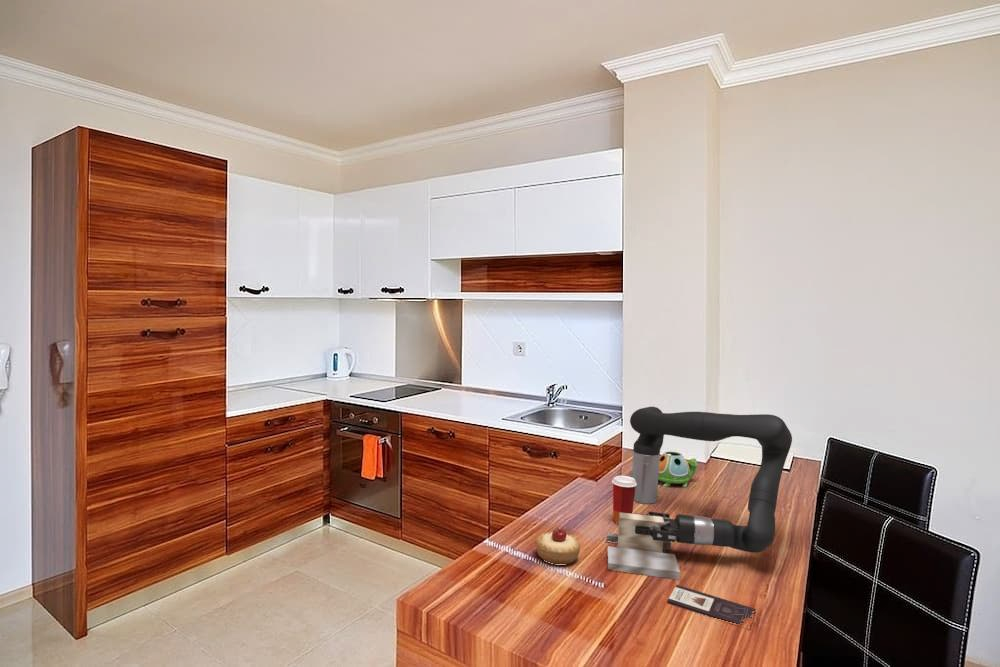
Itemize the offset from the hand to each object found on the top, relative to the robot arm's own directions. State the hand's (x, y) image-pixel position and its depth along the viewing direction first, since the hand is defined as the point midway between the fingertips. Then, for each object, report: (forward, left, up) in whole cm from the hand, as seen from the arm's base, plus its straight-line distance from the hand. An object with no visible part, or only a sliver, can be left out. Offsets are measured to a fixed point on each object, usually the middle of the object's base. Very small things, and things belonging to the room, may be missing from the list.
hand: (634, 523), depth 155 cm
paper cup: (-15, +14, -8) cm, 22 cm away
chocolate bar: (+28, -8, -9) cm, 31 cm away
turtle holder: (-27, +63, -8) cm, 69 cm away
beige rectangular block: (+1, +1, -8) cm, 8 cm away
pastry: (-10, -20, -8) cm, 24 cm away
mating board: (+4, -2, -8) cm, 9 cm away
